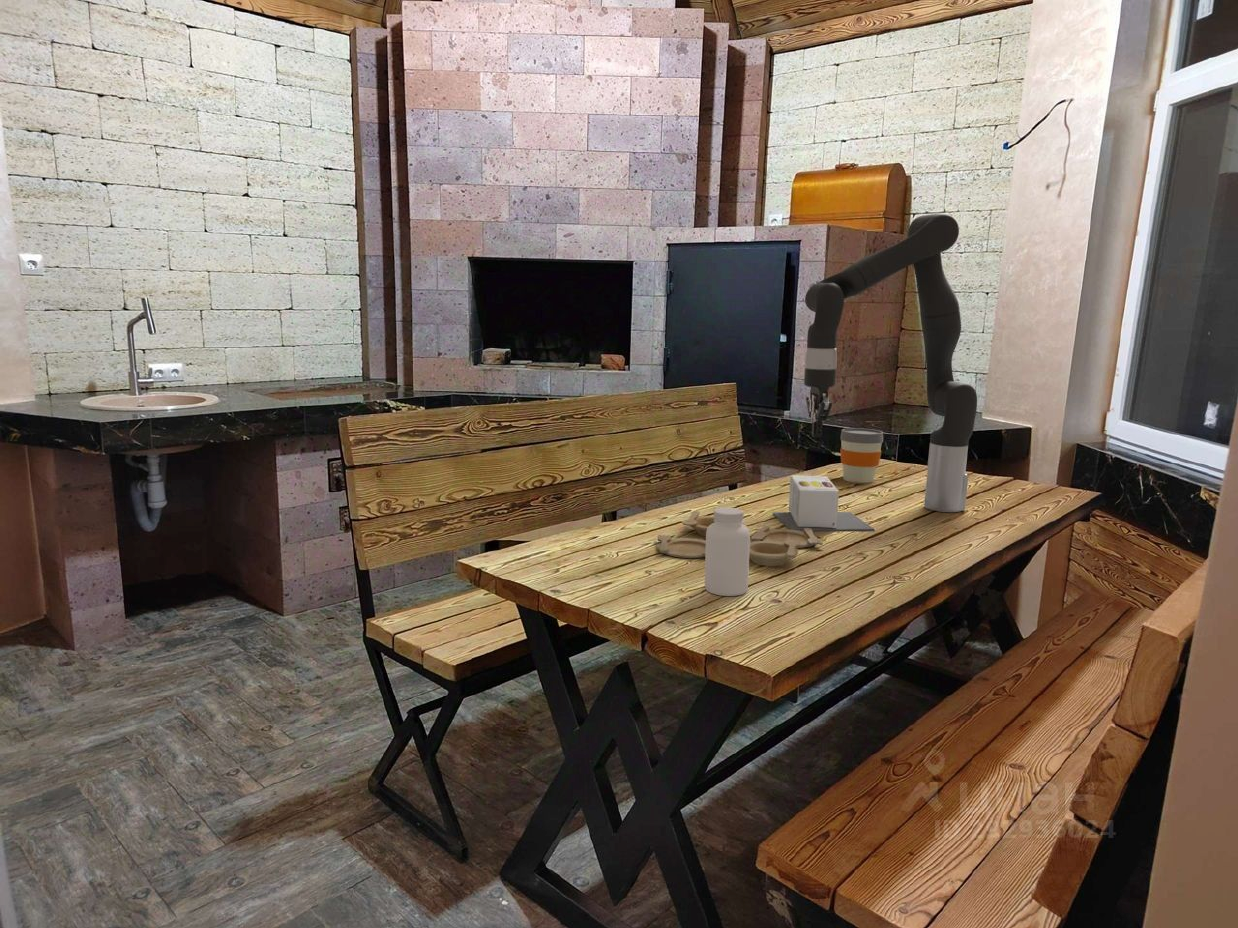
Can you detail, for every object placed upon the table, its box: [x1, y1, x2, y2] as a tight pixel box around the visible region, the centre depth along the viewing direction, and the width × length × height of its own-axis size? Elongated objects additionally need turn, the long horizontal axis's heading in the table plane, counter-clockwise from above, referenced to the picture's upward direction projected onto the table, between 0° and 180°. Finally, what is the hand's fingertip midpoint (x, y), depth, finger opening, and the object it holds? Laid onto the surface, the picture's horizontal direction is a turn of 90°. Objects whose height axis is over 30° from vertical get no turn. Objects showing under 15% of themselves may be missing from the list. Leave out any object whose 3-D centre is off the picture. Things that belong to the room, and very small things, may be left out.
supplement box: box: [788, 474, 840, 528], centre depth 199 cm, size 10×9×17 cm
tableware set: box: [656, 510, 824, 567], centre depth 178 cm, size 35×29×4 cm
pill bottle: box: [704, 507, 751, 597], centre depth 149 cm, size 8×8×15 cm
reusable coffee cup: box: [839, 427, 884, 484], centre depth 248 cm, size 13×13×15 cm
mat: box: [772, 511, 876, 532], centre depth 199 cm, size 20×16×1 cm
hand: (816, 436), depth 203 cm, fingers closed
